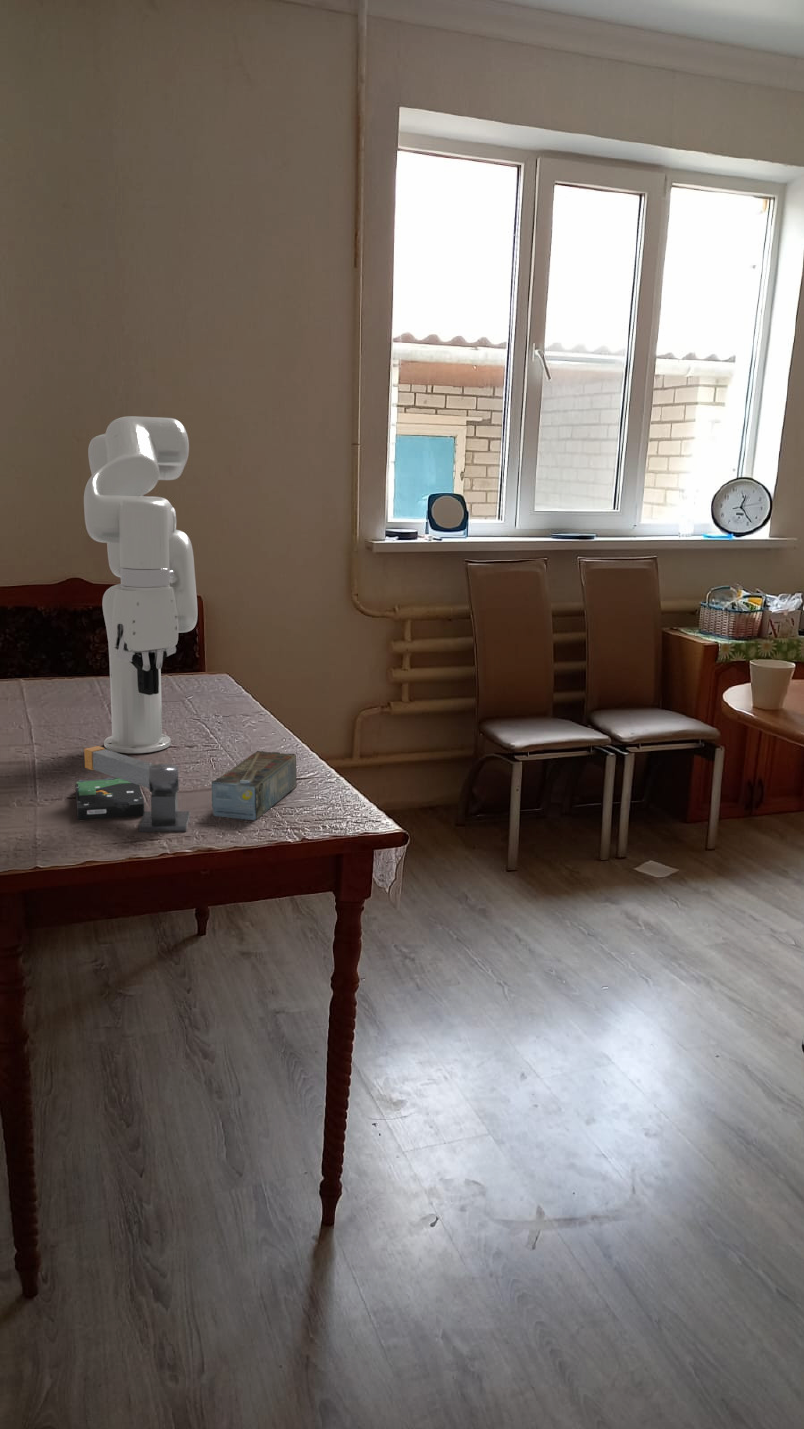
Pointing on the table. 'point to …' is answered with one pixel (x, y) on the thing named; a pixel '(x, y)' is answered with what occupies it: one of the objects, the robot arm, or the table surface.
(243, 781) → the beverage carton
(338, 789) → the table surface
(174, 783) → the swing bar
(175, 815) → the grey pedestal base
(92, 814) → the disk drive
